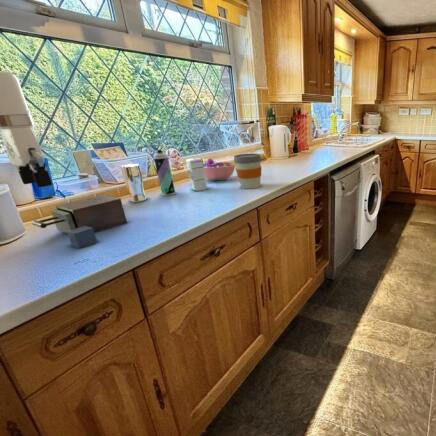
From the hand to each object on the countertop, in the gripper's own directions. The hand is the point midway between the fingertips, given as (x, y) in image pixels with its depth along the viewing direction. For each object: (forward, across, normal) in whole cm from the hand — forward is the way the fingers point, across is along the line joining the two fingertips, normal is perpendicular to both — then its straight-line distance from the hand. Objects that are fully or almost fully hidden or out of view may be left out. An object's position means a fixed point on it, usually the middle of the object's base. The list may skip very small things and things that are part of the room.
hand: (37, 184), depth 87 cm
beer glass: (+17, -18, +35) cm, 43 cm away
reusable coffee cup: (+17, +11, +73) cm, 76 cm away
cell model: (+17, -16, +77) cm, 81 cm away
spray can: (+17, -15, +47) cm, 53 cm away
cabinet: (+17, +1, +10) cm, 20 cm away
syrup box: (+17, -9, +59) cm, 62 cm away
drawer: (+16, +1, +5) cm, 17 cm away
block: (+17, +14, +1) cm, 22 cm away
